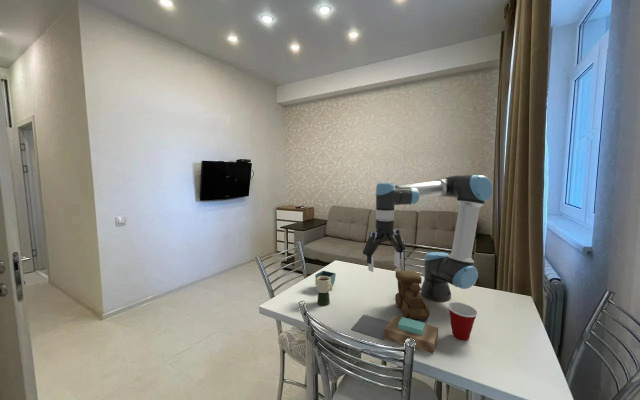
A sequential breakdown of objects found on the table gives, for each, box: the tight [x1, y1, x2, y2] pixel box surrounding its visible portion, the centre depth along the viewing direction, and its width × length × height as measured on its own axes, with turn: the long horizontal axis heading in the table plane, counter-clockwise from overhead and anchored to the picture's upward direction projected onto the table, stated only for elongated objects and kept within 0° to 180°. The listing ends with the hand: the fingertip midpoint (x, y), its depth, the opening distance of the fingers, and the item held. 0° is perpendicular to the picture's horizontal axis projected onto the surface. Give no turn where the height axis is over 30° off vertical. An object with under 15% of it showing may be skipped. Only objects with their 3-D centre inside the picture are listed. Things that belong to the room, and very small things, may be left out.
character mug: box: [314, 276, 333, 306], centre depth 136 cm, size 11×7×13 cm, turn 48°
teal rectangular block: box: [398, 316, 426, 335], centre depth 106 cm, size 9×6×2 cm, turn 59°
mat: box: [350, 314, 390, 341], centre depth 115 cm, size 14×14×1 cm
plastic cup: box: [447, 301, 479, 342], centre depth 107 cm, size 11×11×12 cm
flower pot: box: [315, 270, 337, 288], centre depth 153 cm, size 9×9×9 cm
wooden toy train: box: [394, 270, 431, 320], centre depth 126 cm, size 20×11×17 cm, turn 0°
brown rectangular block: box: [384, 315, 439, 355], centre depth 107 cm, size 18×12×4 cm, turn 59°
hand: (384, 268), depth 116 cm, fingers open, 13 cm apart
